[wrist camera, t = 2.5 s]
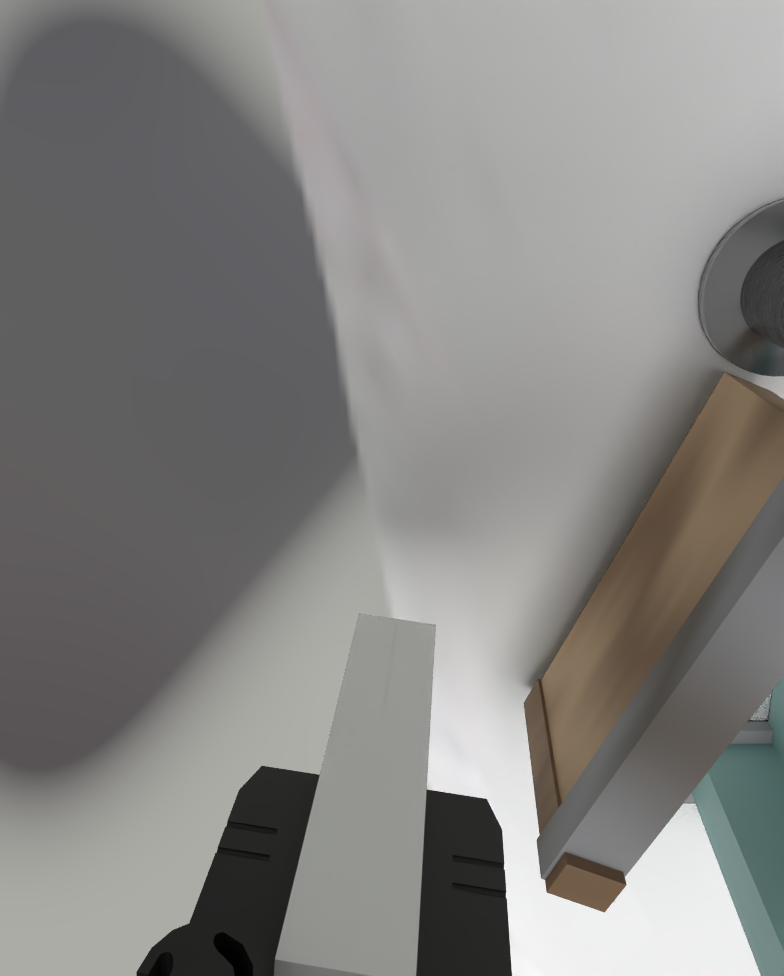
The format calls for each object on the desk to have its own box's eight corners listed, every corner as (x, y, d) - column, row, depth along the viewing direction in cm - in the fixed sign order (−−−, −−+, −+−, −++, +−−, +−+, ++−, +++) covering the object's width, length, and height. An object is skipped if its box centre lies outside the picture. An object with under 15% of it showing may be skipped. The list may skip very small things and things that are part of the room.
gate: (716, 369, 16) (849, 462, 11) (777, 393, 16) (940, 498, 11) (520, 702, 21) (542, 890, 15) (569, 719, 21) (608, 914, 15)
